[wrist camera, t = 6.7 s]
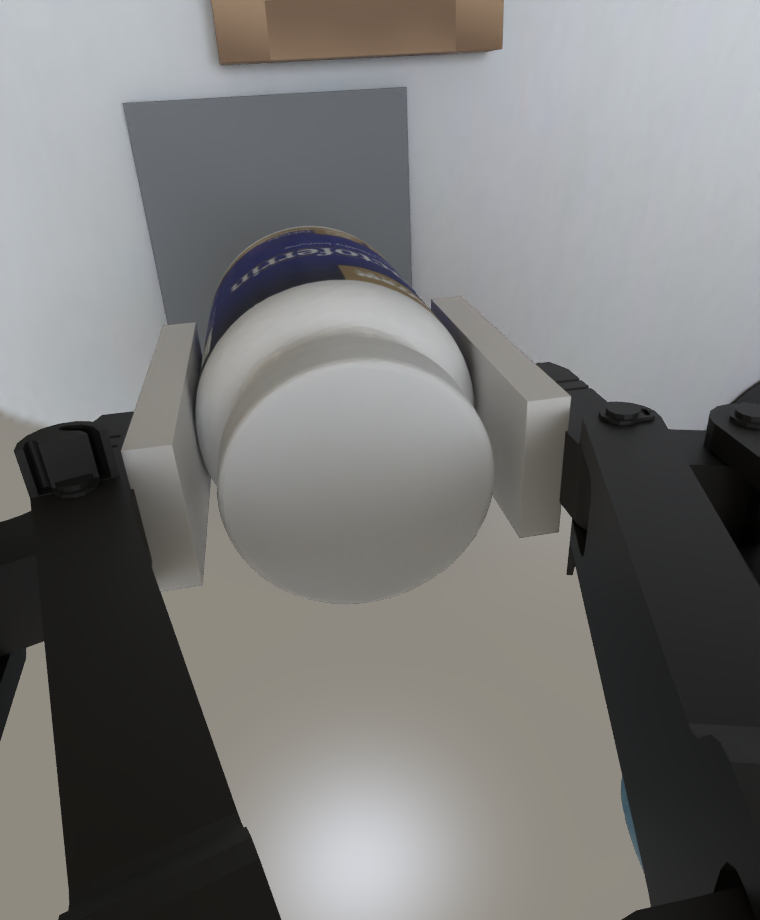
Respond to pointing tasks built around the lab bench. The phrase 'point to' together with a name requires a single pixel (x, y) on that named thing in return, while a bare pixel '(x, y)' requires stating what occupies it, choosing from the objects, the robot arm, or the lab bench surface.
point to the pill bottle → (338, 421)
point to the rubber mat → (266, 180)
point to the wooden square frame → (353, 29)
